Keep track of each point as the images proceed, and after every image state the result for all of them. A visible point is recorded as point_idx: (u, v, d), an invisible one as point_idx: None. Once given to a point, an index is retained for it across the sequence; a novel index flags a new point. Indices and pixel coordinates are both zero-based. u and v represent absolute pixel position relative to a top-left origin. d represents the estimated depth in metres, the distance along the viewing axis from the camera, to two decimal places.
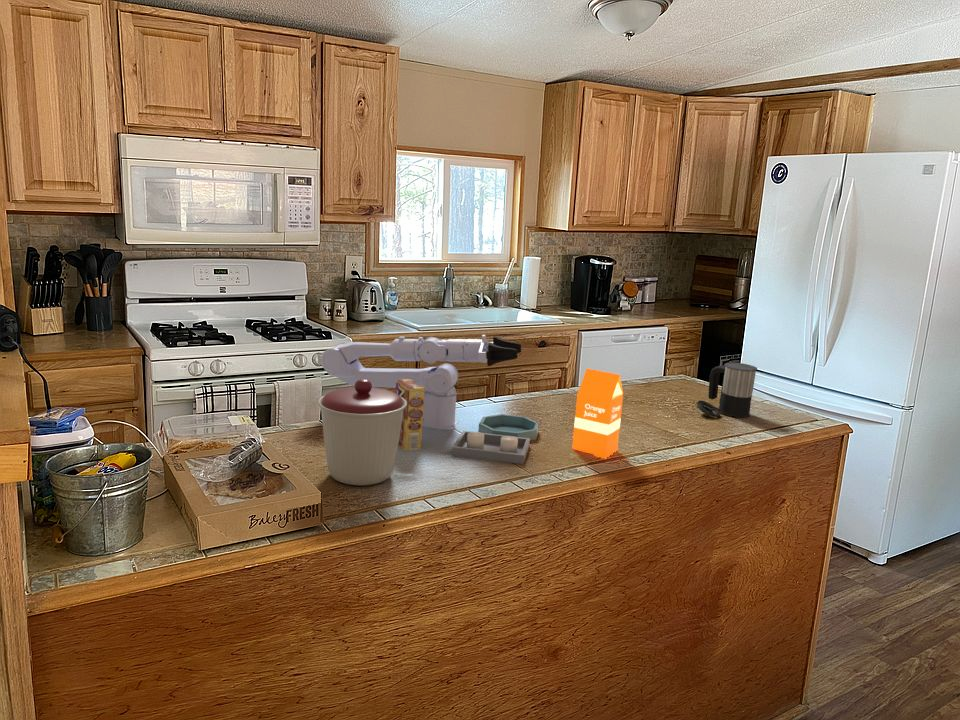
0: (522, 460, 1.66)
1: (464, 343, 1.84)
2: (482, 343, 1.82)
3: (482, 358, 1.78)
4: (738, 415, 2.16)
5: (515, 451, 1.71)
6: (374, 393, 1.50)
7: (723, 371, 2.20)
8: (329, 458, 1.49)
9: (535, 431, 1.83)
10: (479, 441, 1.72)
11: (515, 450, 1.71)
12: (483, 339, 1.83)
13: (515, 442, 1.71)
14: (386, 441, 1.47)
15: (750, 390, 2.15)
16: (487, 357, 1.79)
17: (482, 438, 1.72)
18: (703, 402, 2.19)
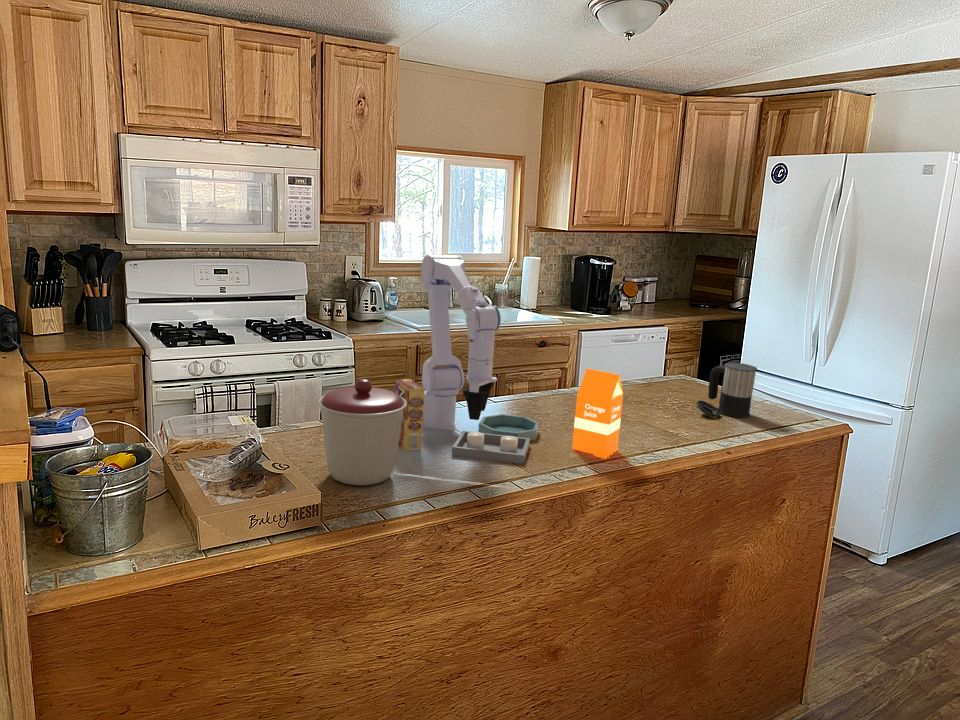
0: (522, 460, 1.66)
1: (488, 360, 1.67)
2: (487, 381, 1.67)
3: (471, 388, 1.63)
4: (738, 415, 2.16)
5: (515, 451, 1.71)
6: (374, 393, 1.50)
7: (723, 371, 2.20)
8: (329, 458, 1.49)
9: (535, 431, 1.83)
10: (479, 441, 1.72)
11: (515, 450, 1.71)
12: (491, 380, 1.69)
13: (515, 442, 1.71)
14: (386, 441, 1.47)
15: (750, 390, 2.15)
16: (472, 392, 1.65)
17: (482, 438, 1.72)
18: (703, 402, 2.19)
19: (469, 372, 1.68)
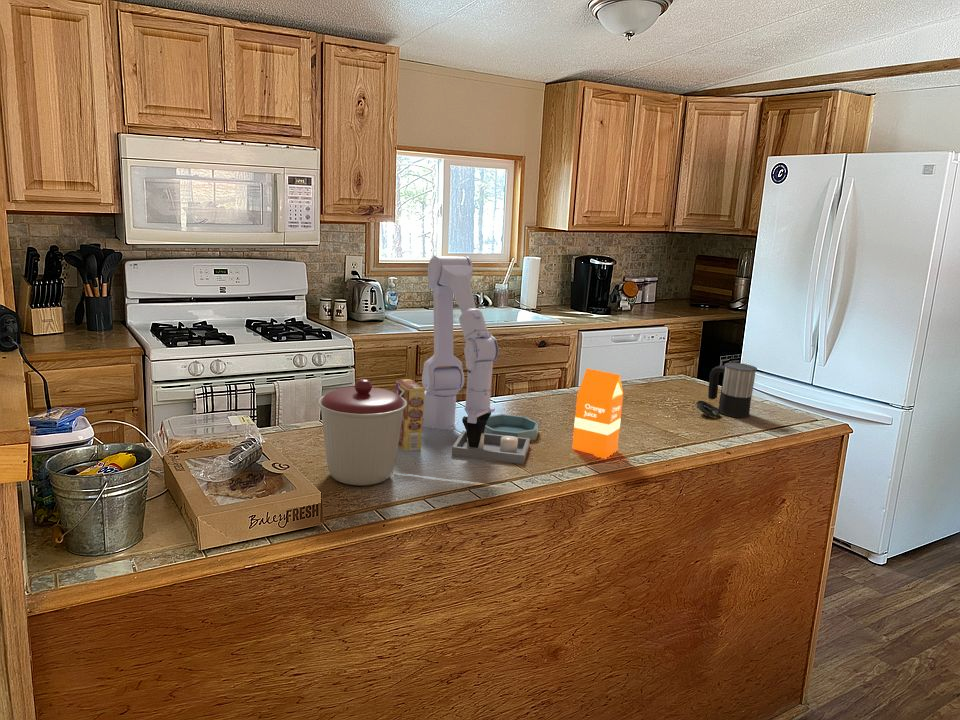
0: (522, 460, 1.66)
1: (486, 391, 1.68)
2: (485, 412, 1.69)
3: (469, 419, 1.65)
4: (738, 416, 2.16)
5: (515, 451, 1.71)
6: (374, 393, 1.50)
7: (723, 371, 2.20)
8: (329, 458, 1.49)
9: (535, 431, 1.83)
10: None
11: (515, 450, 1.71)
12: (489, 410, 1.70)
13: (515, 442, 1.71)
14: (386, 441, 1.47)
15: (750, 390, 2.15)
16: None
17: (482, 438, 1.72)
18: (703, 402, 2.19)
19: (467, 402, 1.70)
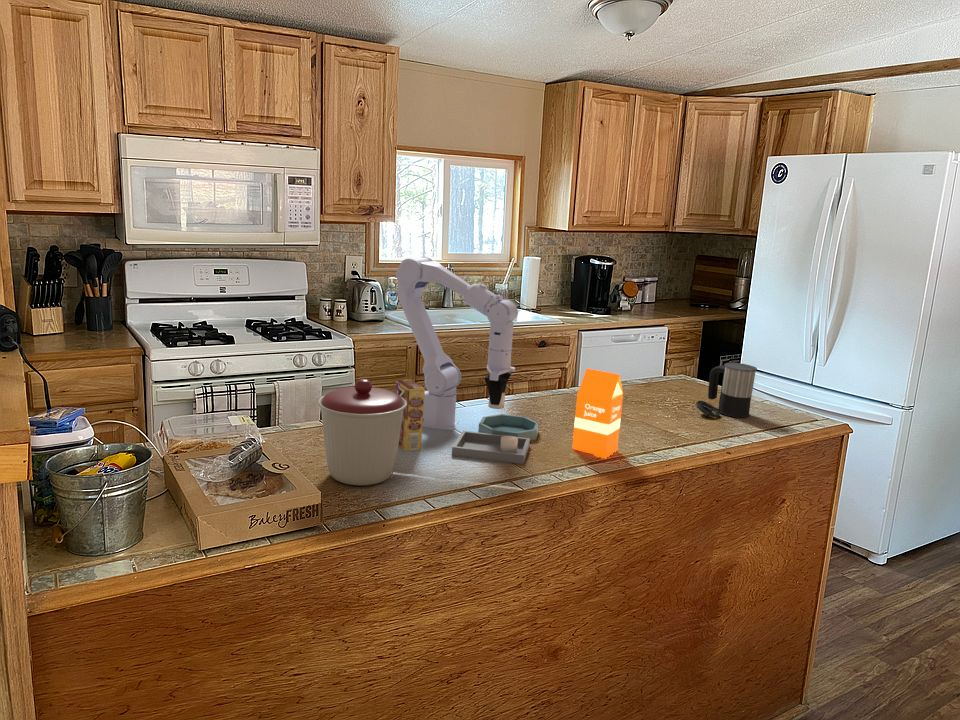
0: (522, 460, 1.66)
1: (507, 351, 1.79)
2: (506, 370, 1.79)
3: (491, 377, 1.75)
4: (737, 416, 2.16)
5: (515, 451, 1.71)
6: (374, 393, 1.50)
7: (723, 371, 2.20)
8: (329, 458, 1.49)
9: (535, 431, 1.83)
10: (501, 399, 1.82)
11: (515, 450, 1.71)
12: (510, 370, 1.80)
13: (515, 442, 1.71)
14: (386, 441, 1.47)
15: (750, 390, 2.15)
16: None
17: (503, 396, 1.82)
18: (703, 402, 2.19)
19: (489, 362, 1.80)
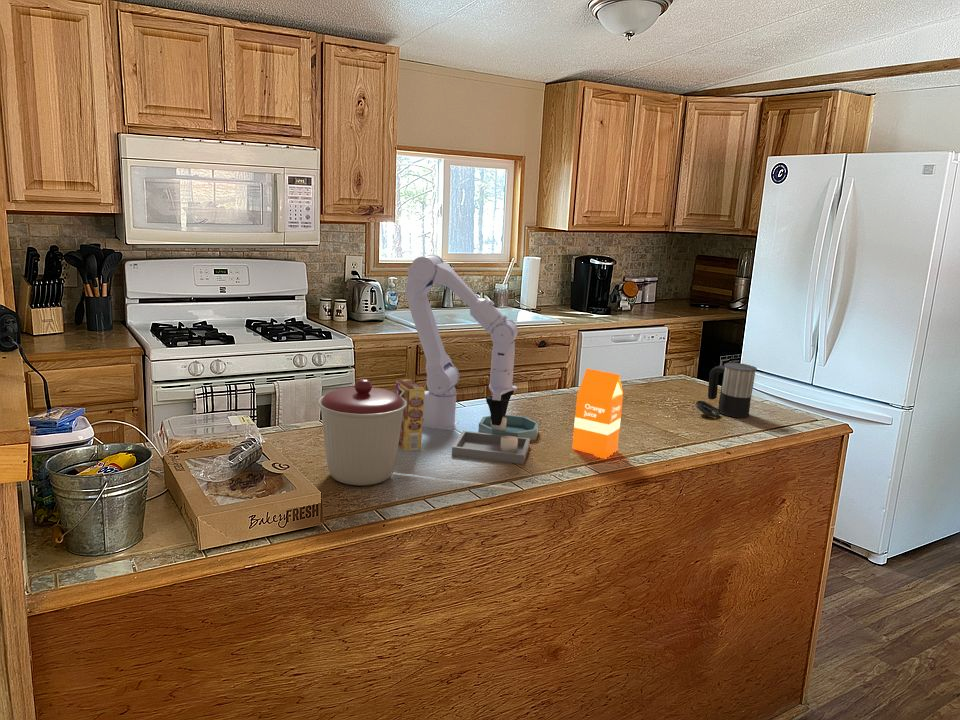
0: (522, 460, 1.66)
1: (509, 371, 1.82)
2: (508, 390, 1.82)
3: (494, 396, 1.78)
4: (737, 416, 2.15)
5: (515, 451, 1.71)
6: (374, 393, 1.50)
7: (723, 371, 2.19)
8: (329, 458, 1.49)
9: (535, 431, 1.83)
10: (502, 424, 1.85)
11: (515, 450, 1.71)
12: (512, 389, 1.84)
13: (515, 442, 1.71)
14: (386, 441, 1.47)
15: (749, 390, 2.15)
16: (494, 399, 1.80)
17: (505, 421, 1.86)
18: (702, 402, 2.19)
19: (491, 381, 1.83)
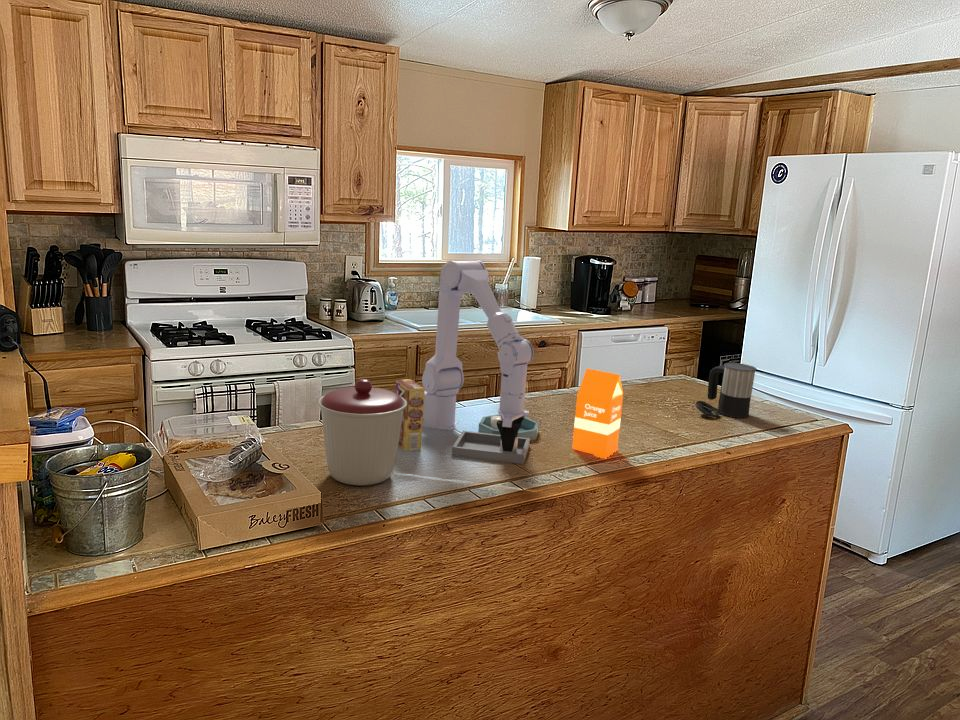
0: (522, 460, 1.66)
1: (521, 395, 1.67)
2: (520, 415, 1.68)
3: (504, 423, 1.64)
4: (737, 416, 2.15)
5: (515, 451, 1.71)
6: (374, 393, 1.50)
7: (722, 371, 2.19)
8: (329, 458, 1.49)
9: (535, 431, 1.83)
10: None
11: (515, 450, 1.71)
12: (524, 414, 1.69)
13: (515, 442, 1.71)
14: (386, 441, 1.47)
15: (749, 390, 2.15)
16: None
17: None
18: (702, 402, 2.19)
19: (501, 406, 1.69)
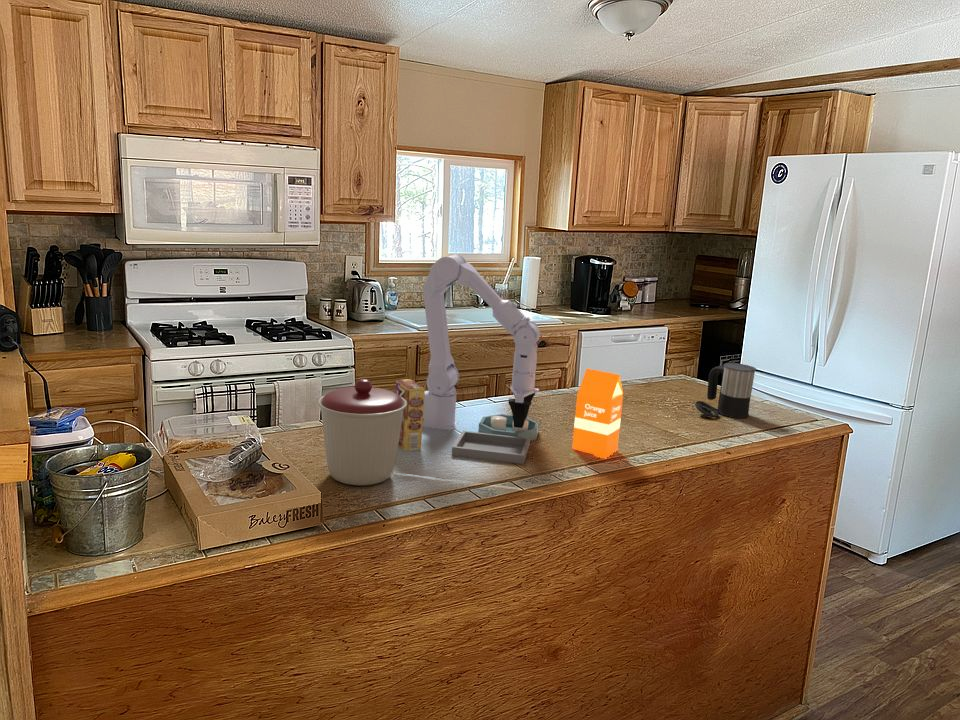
0: (522, 460, 1.66)
1: (532, 373, 1.81)
2: (531, 392, 1.82)
3: (517, 399, 1.78)
4: (736, 416, 2.15)
5: None
6: (374, 393, 1.50)
7: (722, 371, 2.19)
8: (329, 458, 1.49)
9: (535, 431, 1.83)
10: (503, 424, 1.86)
11: None
12: (534, 391, 1.83)
13: (526, 424, 1.85)
14: (386, 441, 1.47)
15: (749, 391, 2.14)
16: (517, 402, 1.79)
17: (505, 421, 1.86)
18: (702, 402, 2.18)
19: (514, 384, 1.82)
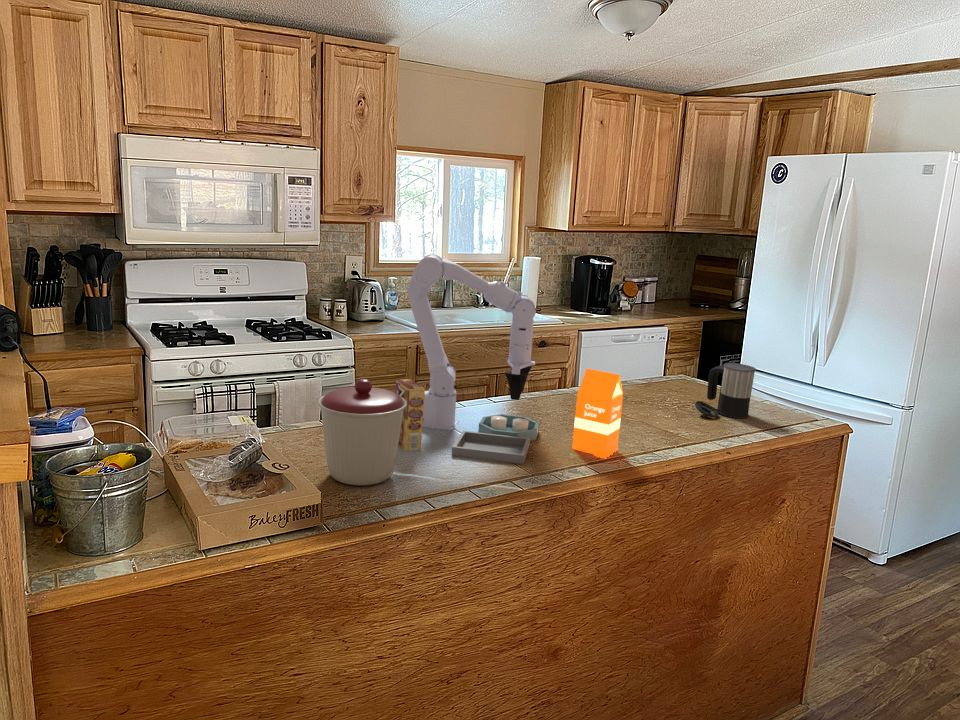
0: (522, 460, 1.66)
1: (528, 346, 1.84)
2: (527, 365, 1.84)
3: (513, 371, 1.80)
4: (736, 416, 2.15)
5: None
6: (374, 393, 1.50)
7: (722, 372, 2.19)
8: (329, 458, 1.49)
9: (535, 431, 1.83)
10: (503, 424, 1.86)
11: None
12: (531, 364, 1.86)
13: (526, 424, 1.85)
14: (386, 441, 1.47)
15: (749, 391, 2.14)
16: (514, 374, 1.82)
17: (505, 421, 1.86)
18: (701, 403, 2.18)
19: (510, 356, 1.85)
